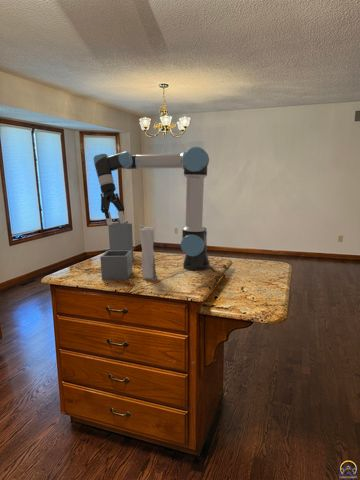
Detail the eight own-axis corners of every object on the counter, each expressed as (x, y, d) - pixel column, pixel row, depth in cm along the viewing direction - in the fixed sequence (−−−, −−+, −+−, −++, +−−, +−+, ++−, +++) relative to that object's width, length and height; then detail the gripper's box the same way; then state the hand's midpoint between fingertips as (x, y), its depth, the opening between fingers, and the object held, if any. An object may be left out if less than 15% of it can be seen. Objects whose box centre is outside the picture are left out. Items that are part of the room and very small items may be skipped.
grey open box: (132, 271, 176) (131, 250, 173) (128, 279, 163) (126, 256, 160) (108, 271, 176) (106, 250, 174) (101, 279, 163) (100, 256, 161)
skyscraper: (139, 280, 161) (137, 225, 156) (141, 275, 169) (139, 223, 164) (156, 280, 161) (154, 225, 156) (157, 275, 169) (156, 223, 164)
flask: (135, 257, 208) (133, 218, 203) (131, 258, 204) (129, 219, 199) (113, 254, 215) (111, 217, 211) (109, 256, 211) (106, 218, 207)
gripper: (112, 187, 180) (122, 224, 181) (87, 185, 156) (97, 227, 157) (124, 183, 178) (133, 221, 178) (100, 180, 154) (110, 223, 155)
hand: (116, 224), depth 168 cm, fingers open, 13 cm apart
